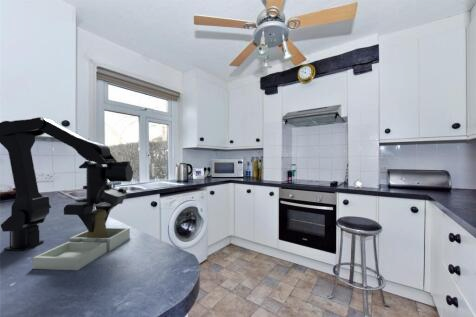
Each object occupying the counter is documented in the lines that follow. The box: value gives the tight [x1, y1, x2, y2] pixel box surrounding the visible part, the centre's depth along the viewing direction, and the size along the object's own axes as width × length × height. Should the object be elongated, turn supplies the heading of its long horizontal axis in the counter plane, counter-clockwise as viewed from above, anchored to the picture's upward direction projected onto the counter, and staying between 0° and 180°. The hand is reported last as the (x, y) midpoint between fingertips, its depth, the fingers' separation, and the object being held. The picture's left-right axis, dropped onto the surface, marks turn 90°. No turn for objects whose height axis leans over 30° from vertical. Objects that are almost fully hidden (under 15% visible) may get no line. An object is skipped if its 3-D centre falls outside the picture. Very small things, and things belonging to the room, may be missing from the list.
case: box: [68, 227, 131, 252], centre depth 66 cm, size 13×11×4 cm
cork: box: [87, 208, 107, 238], centre depth 67 cm, size 6×6×11 cm
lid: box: [32, 241, 108, 271], centre depth 56 cm, size 12×10×3 cm
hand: (97, 229), depth 67 cm, fingers closed on cork, 4 cm apart
